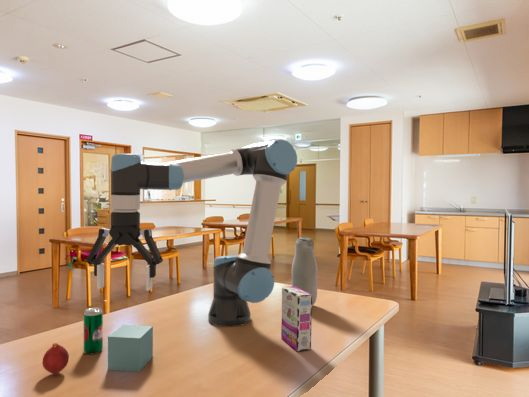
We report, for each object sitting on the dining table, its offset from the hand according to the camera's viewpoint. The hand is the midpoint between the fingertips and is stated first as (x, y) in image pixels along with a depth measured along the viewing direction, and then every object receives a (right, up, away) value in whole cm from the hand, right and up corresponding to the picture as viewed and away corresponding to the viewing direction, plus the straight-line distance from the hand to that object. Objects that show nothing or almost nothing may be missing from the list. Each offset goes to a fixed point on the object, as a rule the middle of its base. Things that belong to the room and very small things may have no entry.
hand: (124, 288), depth 104 cm
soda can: (-11, -19, +6) cm, 23 cm away
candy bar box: (+48, -20, +12) cm, 53 cm away
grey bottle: (+54, -19, +50) cm, 76 cm away
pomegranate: (-14, -20, -8) cm, 26 cm away
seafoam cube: (+2, -20, -2) cm, 20 cm away
